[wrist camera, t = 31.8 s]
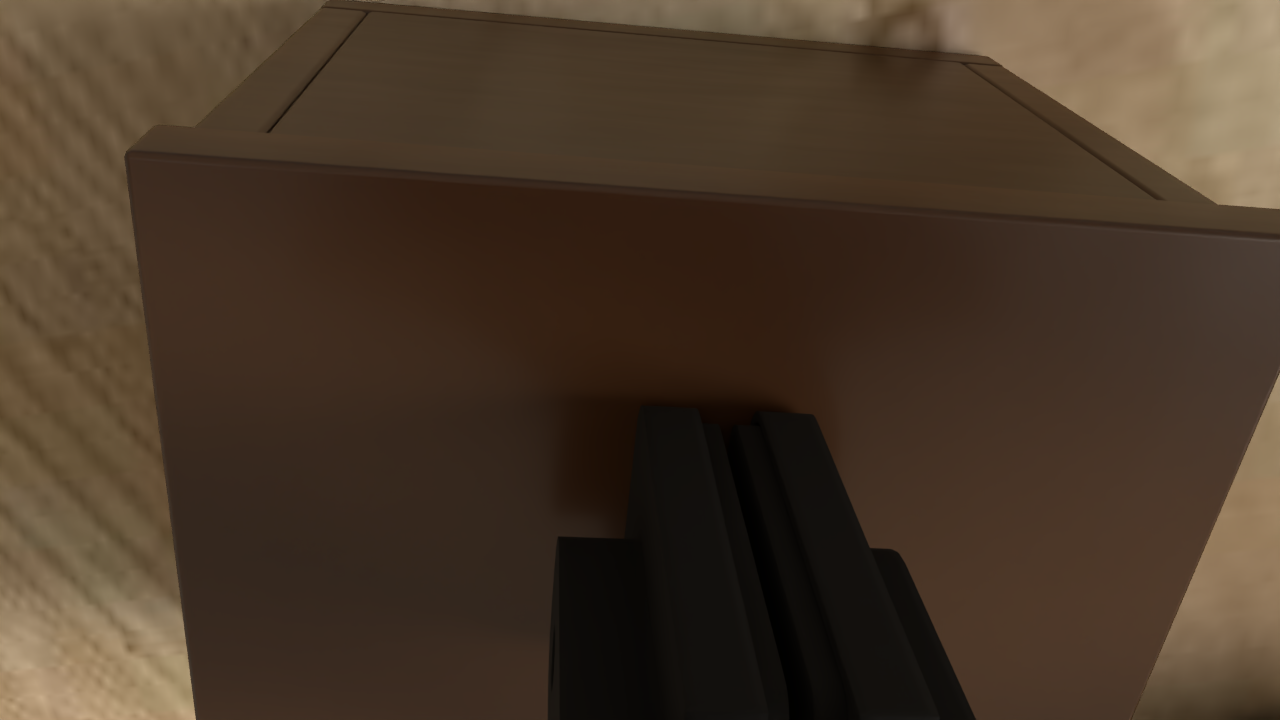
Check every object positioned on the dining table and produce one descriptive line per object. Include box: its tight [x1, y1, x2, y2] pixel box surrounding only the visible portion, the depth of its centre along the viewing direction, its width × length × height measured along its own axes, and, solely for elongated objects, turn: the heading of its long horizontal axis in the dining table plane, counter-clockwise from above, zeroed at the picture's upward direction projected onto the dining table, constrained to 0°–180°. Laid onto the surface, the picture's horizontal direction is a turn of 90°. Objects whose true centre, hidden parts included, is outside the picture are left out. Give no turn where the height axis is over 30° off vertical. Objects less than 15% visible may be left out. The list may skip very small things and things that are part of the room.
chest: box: [194, 0, 1218, 205], centre depth 17 cm, size 12×10×8 cm
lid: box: [124, 125, 1280, 720], centre depth 13 cm, size 13×10×1 cm
